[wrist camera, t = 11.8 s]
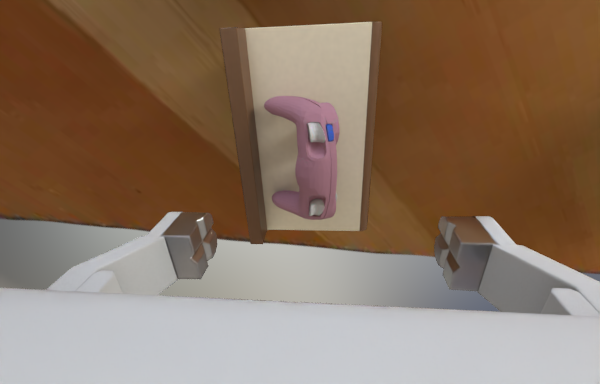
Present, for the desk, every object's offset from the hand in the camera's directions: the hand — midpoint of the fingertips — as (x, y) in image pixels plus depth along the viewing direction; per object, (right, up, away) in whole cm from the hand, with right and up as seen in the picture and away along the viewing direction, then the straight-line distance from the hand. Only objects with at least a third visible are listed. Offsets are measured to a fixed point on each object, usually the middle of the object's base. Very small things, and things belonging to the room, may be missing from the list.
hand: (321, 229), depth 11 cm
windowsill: (0, +10, +23) cm, 25 cm away
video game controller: (0, +5, +15) cm, 16 cm away
